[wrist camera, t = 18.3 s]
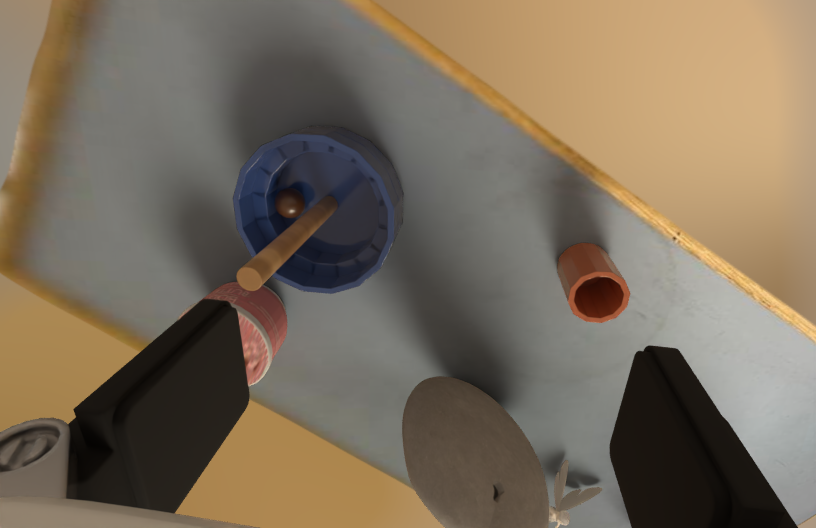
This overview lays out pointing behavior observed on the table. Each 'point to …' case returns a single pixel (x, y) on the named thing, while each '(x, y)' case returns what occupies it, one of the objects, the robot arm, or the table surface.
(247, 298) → the container
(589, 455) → the table surface
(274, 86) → the table surface
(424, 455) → the grey-brown thick disc
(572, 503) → the fairy figurine
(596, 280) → the holder
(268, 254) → the stick
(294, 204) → the bead
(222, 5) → the table surface
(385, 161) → the bowl
